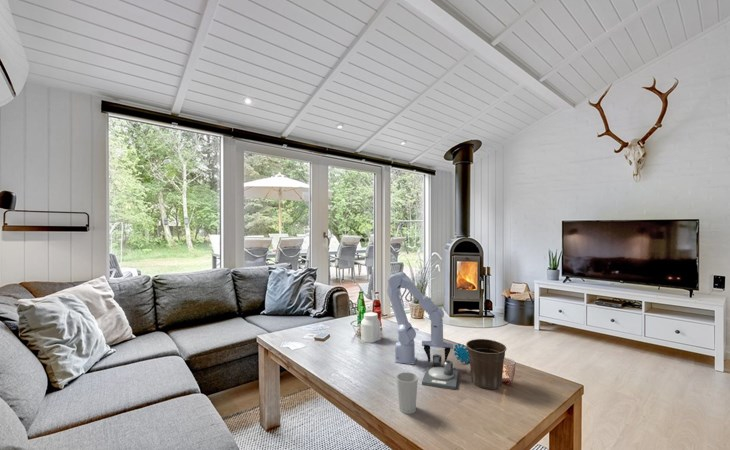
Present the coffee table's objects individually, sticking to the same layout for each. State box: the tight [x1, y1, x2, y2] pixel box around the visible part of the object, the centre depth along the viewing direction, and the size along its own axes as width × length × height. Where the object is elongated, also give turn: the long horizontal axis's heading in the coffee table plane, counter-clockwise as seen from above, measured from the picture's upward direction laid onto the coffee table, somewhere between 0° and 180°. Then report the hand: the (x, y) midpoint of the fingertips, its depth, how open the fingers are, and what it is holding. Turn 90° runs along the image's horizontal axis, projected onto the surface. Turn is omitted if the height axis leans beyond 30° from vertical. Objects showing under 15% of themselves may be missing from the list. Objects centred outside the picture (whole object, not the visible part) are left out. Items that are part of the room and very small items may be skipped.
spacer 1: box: [432, 353, 443, 367], centre depth 160 cm, size 4×4×5 cm
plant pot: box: [465, 338, 507, 390], centre depth 143 cm, size 16×16×16 cm
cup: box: [396, 371, 419, 415], centre depth 124 cm, size 8×8×12 cm
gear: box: [452, 343, 470, 365], centre depth 167 cm, size 11×6×10 cm
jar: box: [360, 311, 382, 344], centre depth 197 cm, size 12×10×15 cm
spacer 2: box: [443, 360, 454, 376], centre depth 148 cm, size 4×4×5 cm
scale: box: [421, 365, 459, 390], centre depth 147 cm, size 14×16×2 cm
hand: (437, 362), depth 160 cm, fingers open, 7 cm apart
